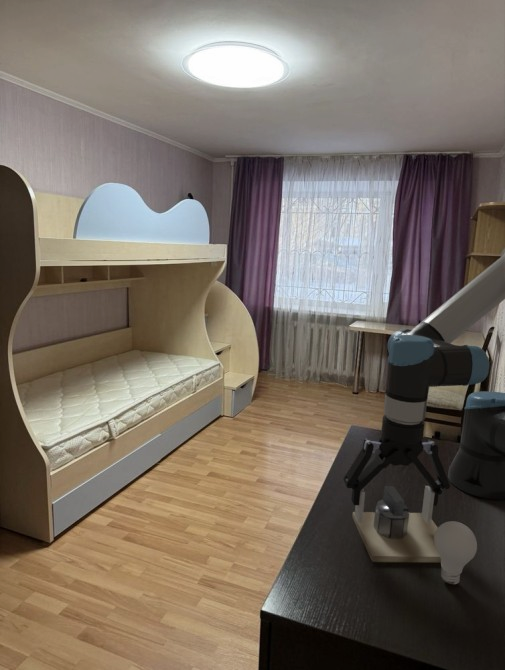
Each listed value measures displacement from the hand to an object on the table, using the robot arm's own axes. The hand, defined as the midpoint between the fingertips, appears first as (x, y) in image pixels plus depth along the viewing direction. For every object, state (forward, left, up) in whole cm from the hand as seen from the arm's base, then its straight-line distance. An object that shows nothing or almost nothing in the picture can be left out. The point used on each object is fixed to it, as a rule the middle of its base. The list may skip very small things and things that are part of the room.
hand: (392, 519), depth 92 cm
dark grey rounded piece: (0, 0, -2) cm, 2 cm away
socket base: (-2, +1, -3) cm, 4 cm away
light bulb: (-6, +13, -4) cm, 15 cm away
